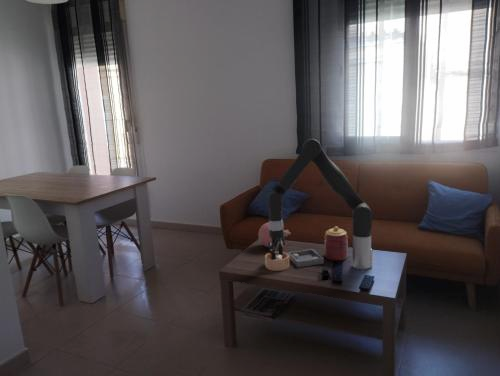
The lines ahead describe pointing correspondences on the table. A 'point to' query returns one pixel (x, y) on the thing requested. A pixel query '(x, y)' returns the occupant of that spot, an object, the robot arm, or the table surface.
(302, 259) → the parts tray
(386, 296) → the table surface
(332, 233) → the canister
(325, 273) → the black bracket
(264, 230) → the balloon
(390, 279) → the table surface
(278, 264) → the terracotta bowl
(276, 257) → the pale stone
